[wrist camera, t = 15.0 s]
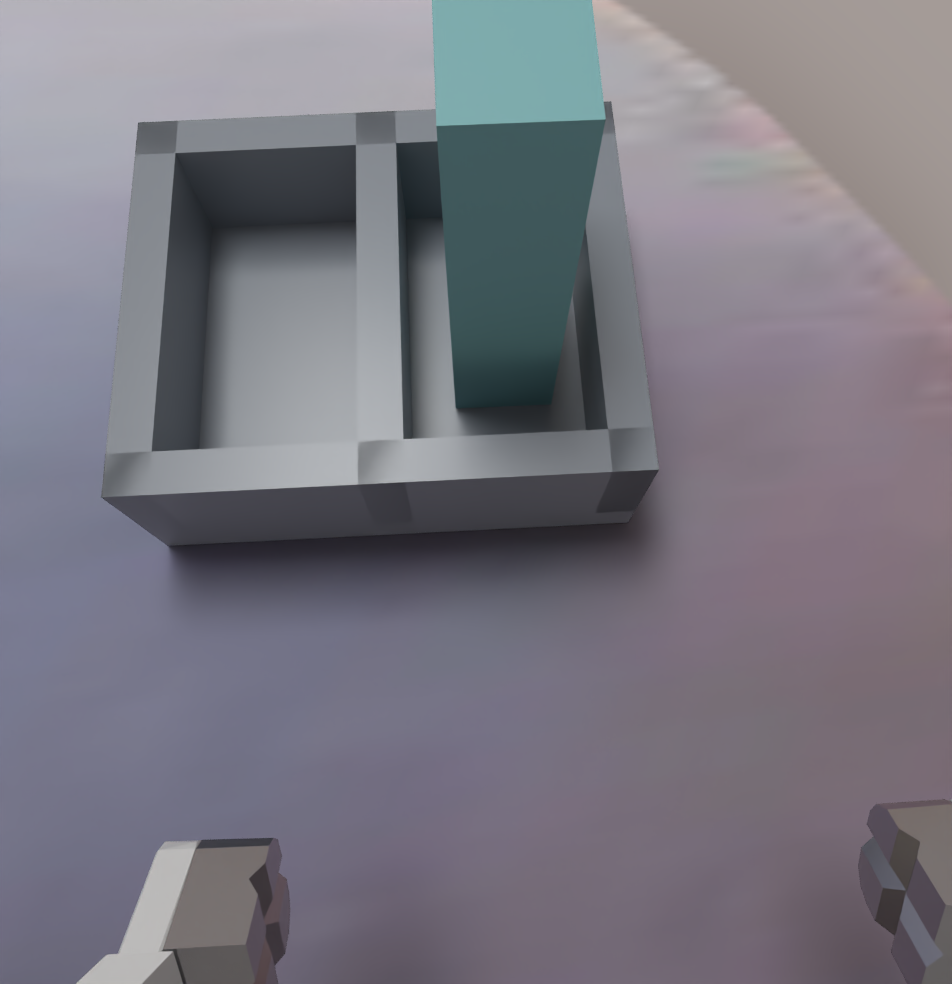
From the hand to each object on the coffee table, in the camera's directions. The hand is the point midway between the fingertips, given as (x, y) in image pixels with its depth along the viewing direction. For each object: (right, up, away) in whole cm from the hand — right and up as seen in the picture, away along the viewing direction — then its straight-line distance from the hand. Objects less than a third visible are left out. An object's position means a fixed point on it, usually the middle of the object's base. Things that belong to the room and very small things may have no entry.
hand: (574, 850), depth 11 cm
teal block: (-1, +9, +11) cm, 14 cm away
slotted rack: (-4, +9, +12) cm, 15 cm away
